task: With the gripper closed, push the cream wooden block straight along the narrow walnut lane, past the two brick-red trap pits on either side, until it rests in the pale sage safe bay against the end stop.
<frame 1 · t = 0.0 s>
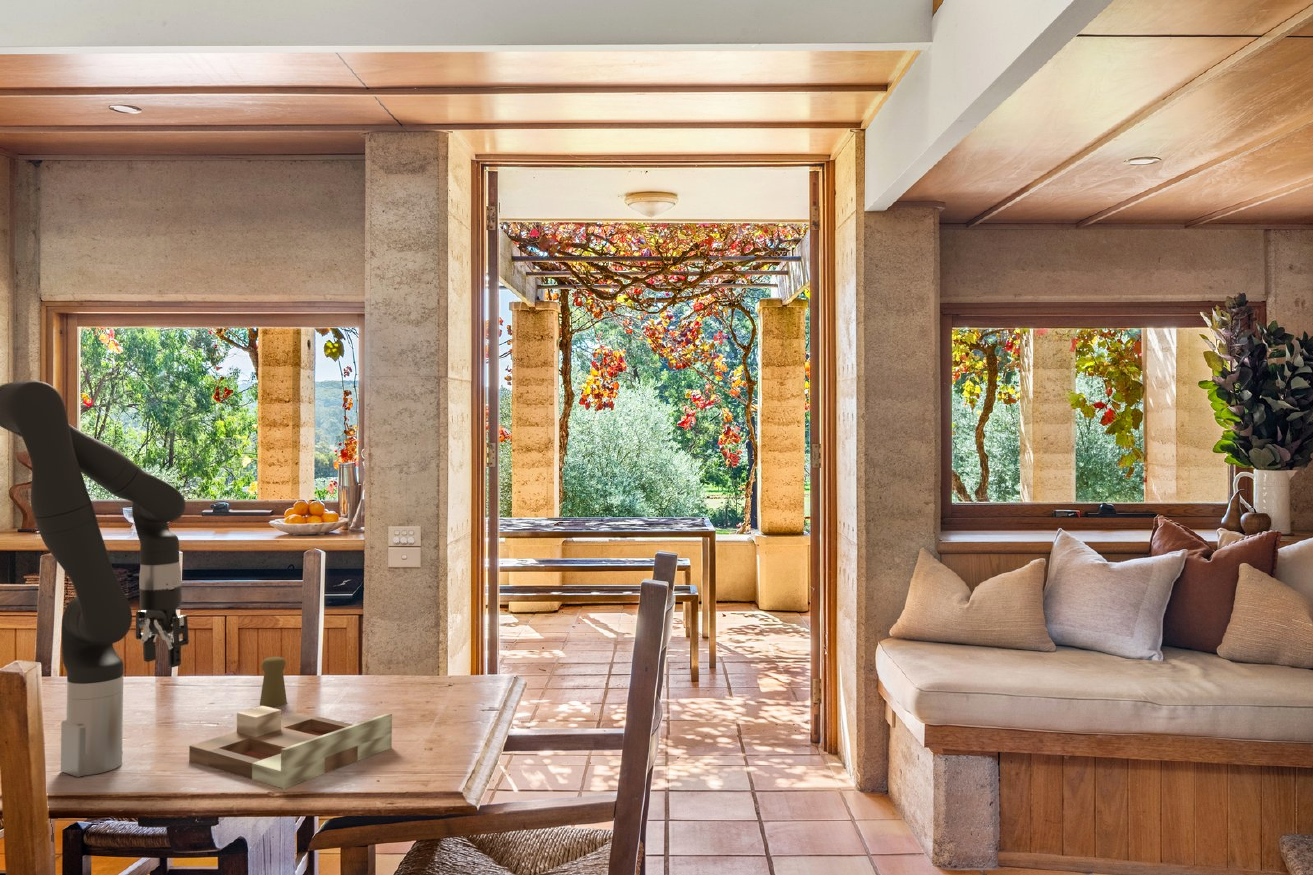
hand: (162, 663, 186), 17 cm above the table, tool pointing down, fingers open, 8 cm apart
block: (258, 730, 188), point 3 cm above the table, touching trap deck
cork: (273, 704, 218), on the table
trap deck: (292, 754, 182), on the table
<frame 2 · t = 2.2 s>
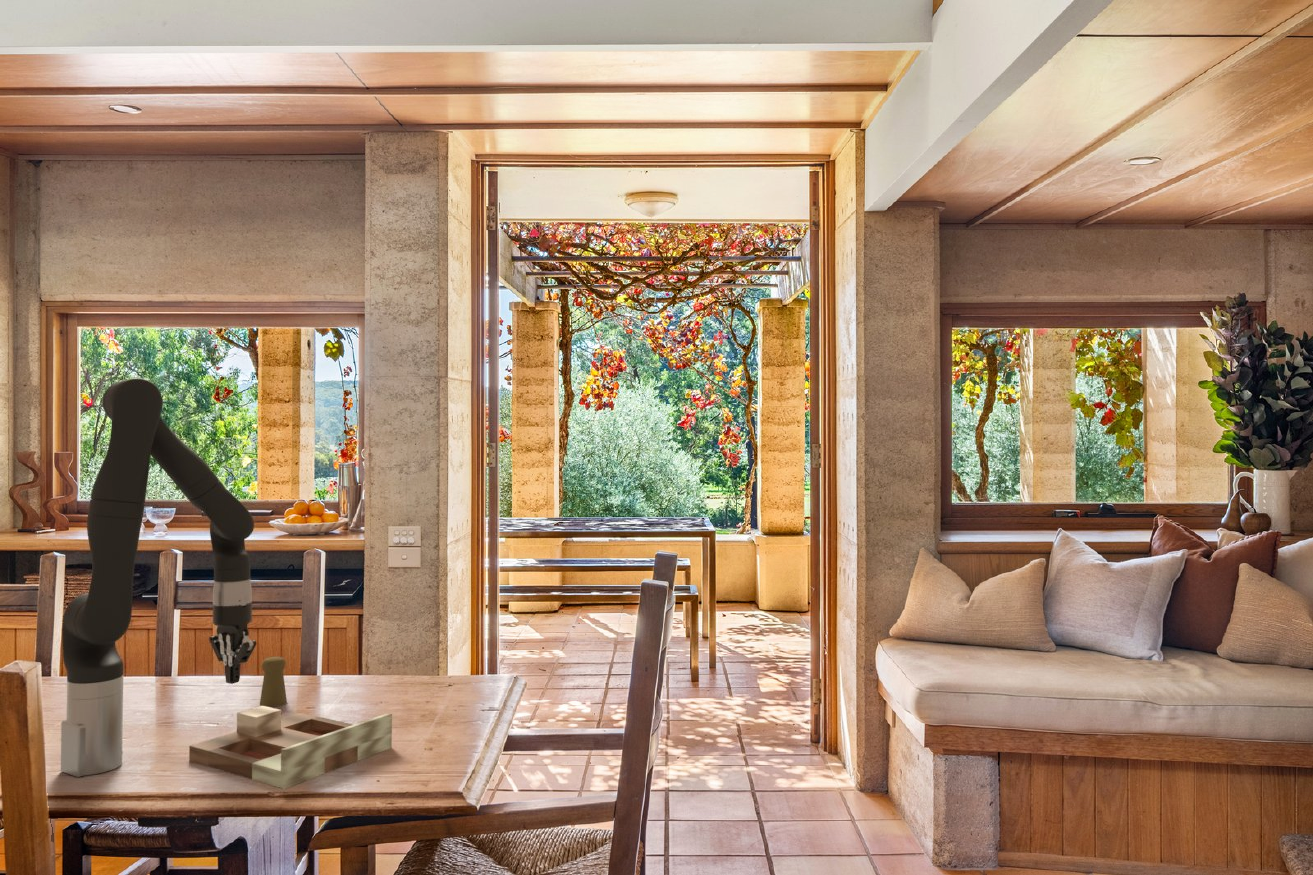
hand: (232, 682, 192), 12 cm above the table, tool pointing down, fingers closed
nothing on the table moved.
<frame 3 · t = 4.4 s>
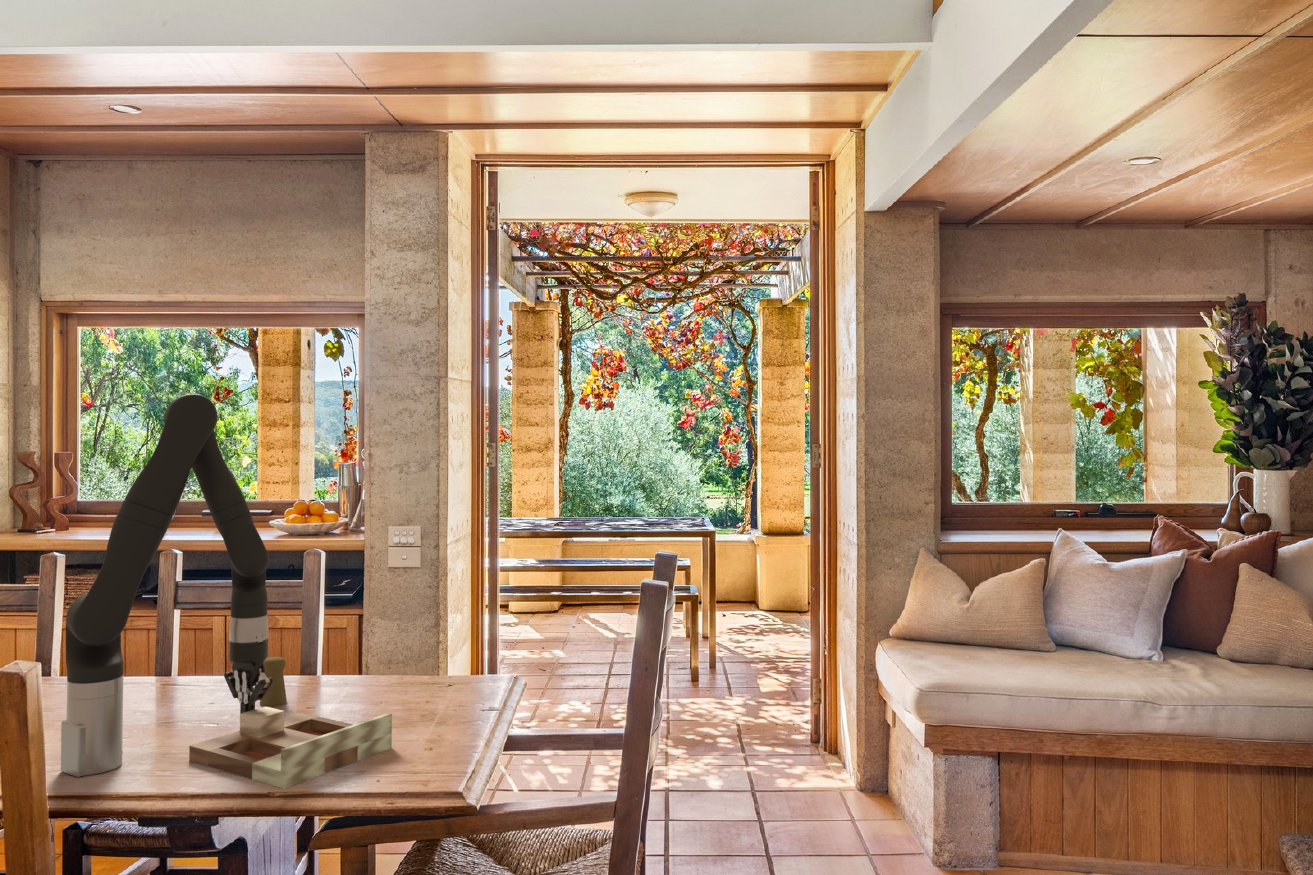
hand: (247, 720, 190), 5 cm above the table, tool pointing down, fingers closed
block: (262, 731, 187), point 3 cm above the table, touching gripper
everything else where it was.
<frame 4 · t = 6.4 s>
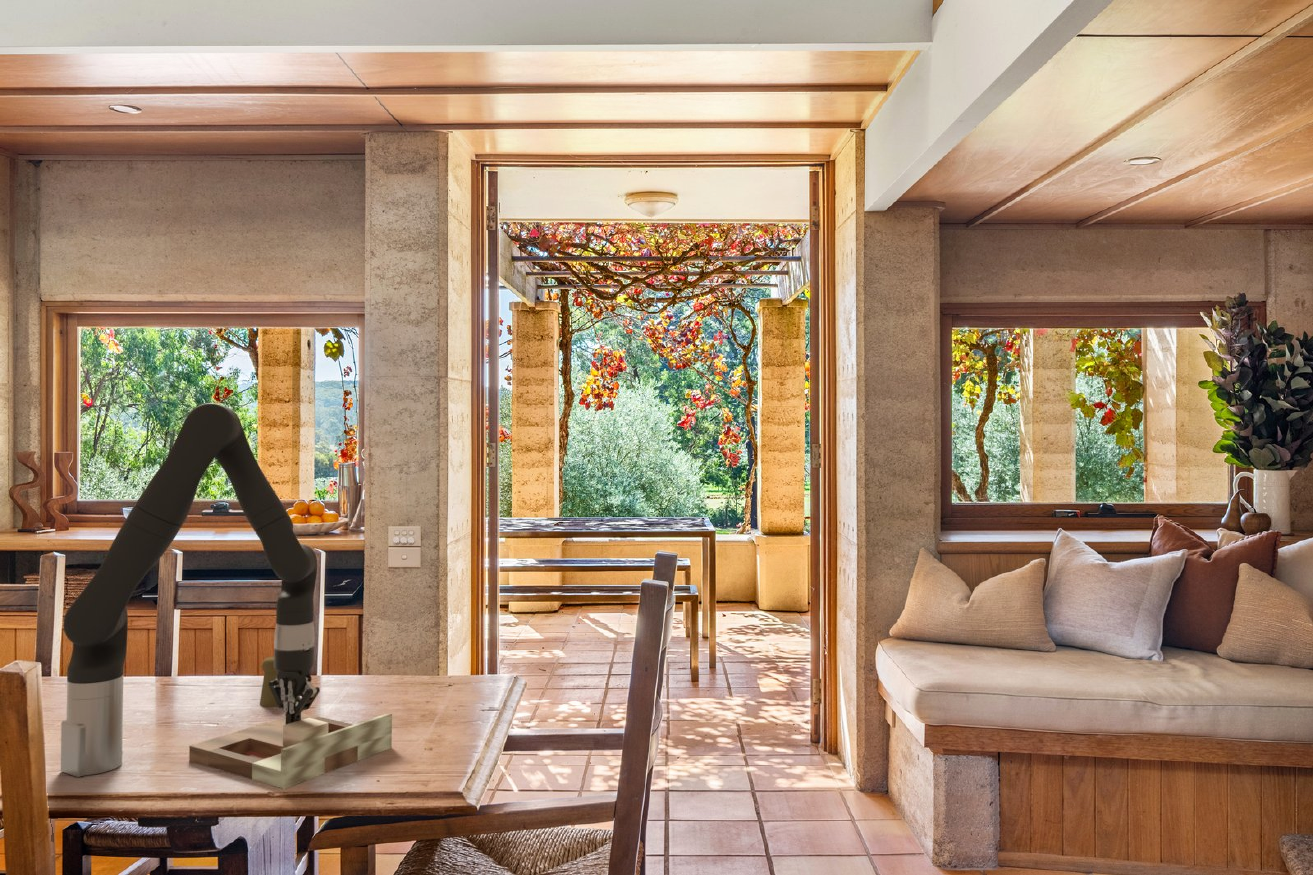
hand: (293, 730, 183), 5 cm above the table, tool pointing down, fingers closed
block: (305, 744, 179), point 3 cm above the table, touching gripper
everything else where it was.
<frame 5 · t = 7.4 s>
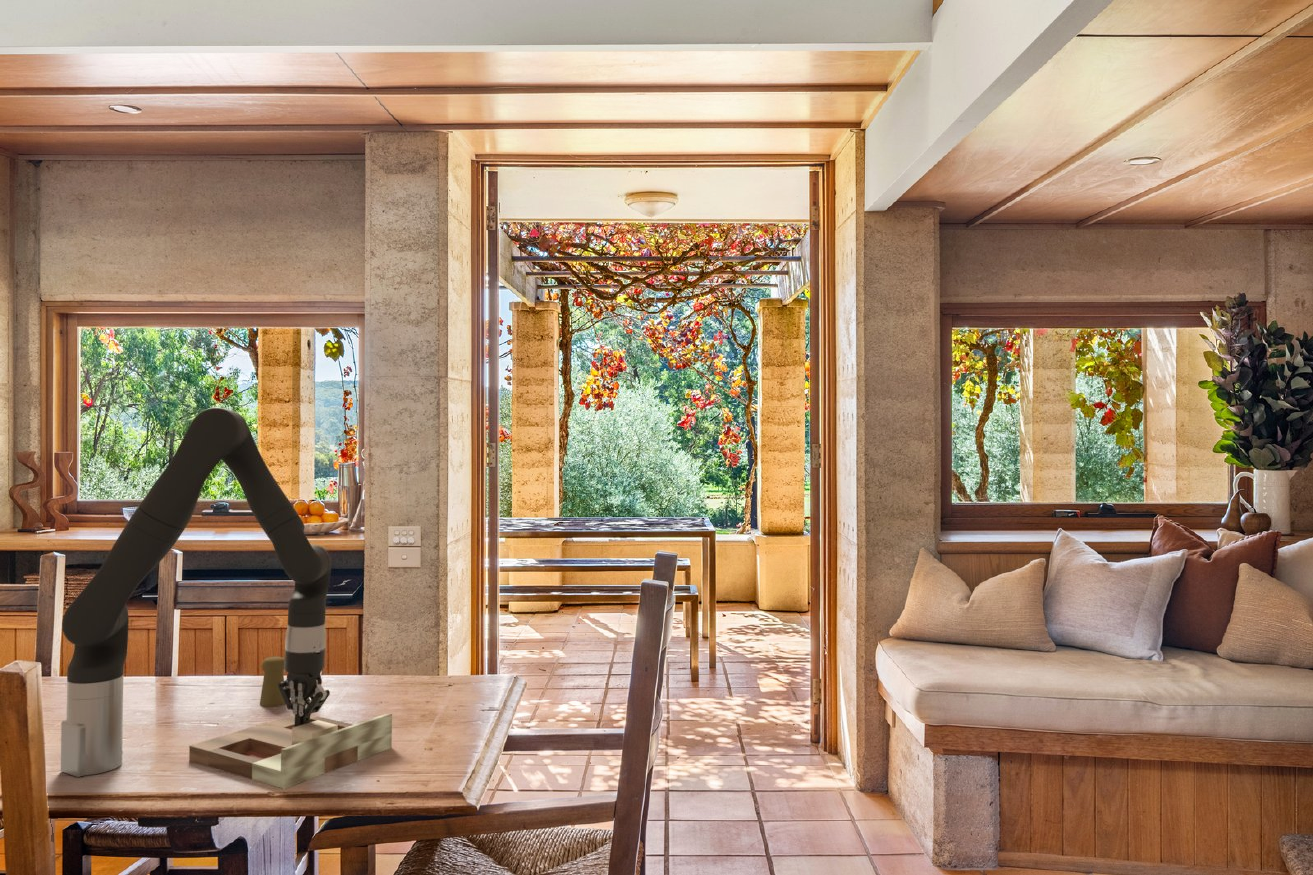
hand: (301, 732, 181), 5 cm above the table, tool pointing down, fingers closed
block: (314, 746, 178), point 3 cm above the table, touching gripper, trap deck
everything else where it was.
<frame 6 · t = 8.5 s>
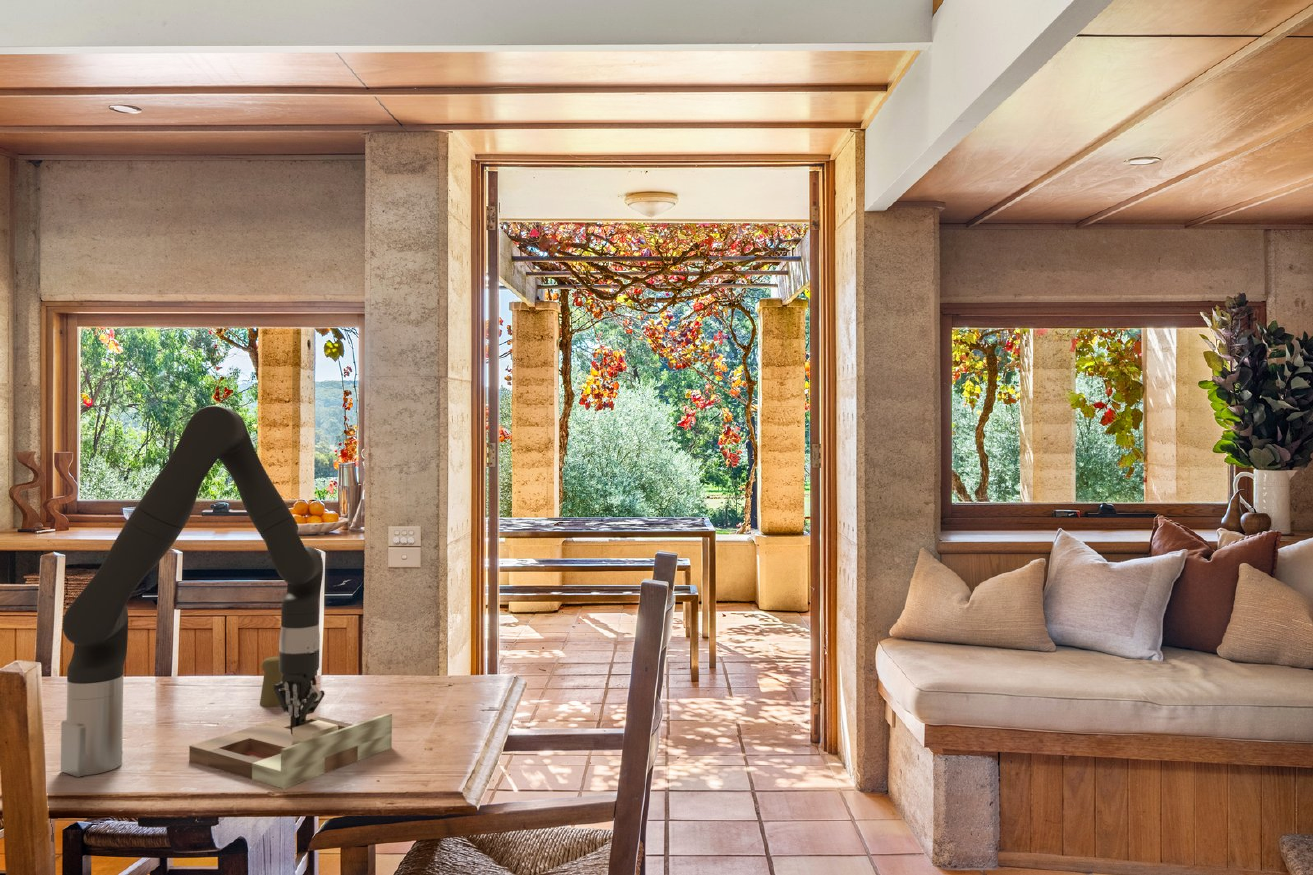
hand: (298, 734, 181), 4 cm above the table, tool pointing down, fingers closed
block: (315, 747, 178), point 3 cm above the table, touching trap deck
everything else where it was.
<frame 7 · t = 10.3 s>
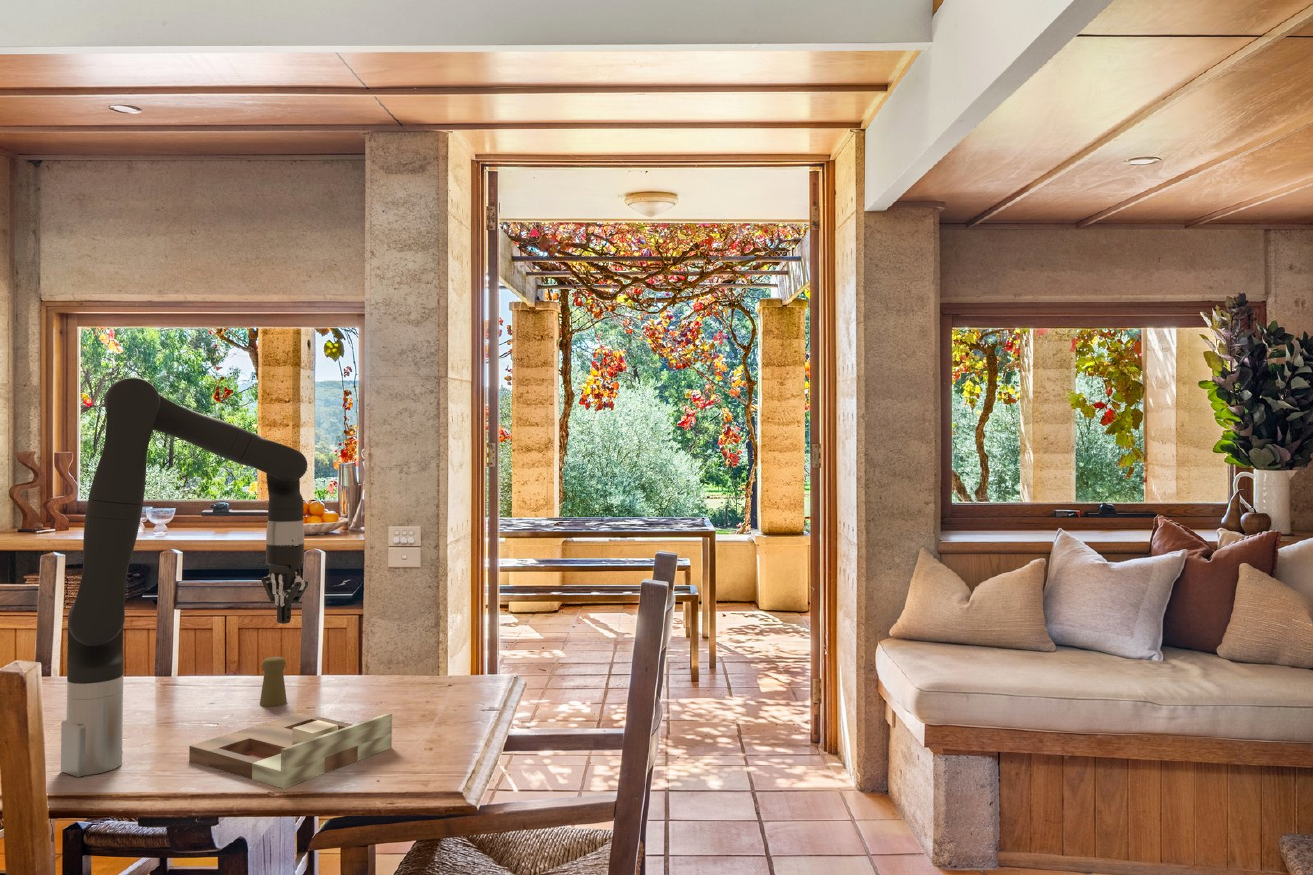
hand: (283, 623, 193), 24 cm above the table, tool pointing down, fingers closed
nothing on the table moved.
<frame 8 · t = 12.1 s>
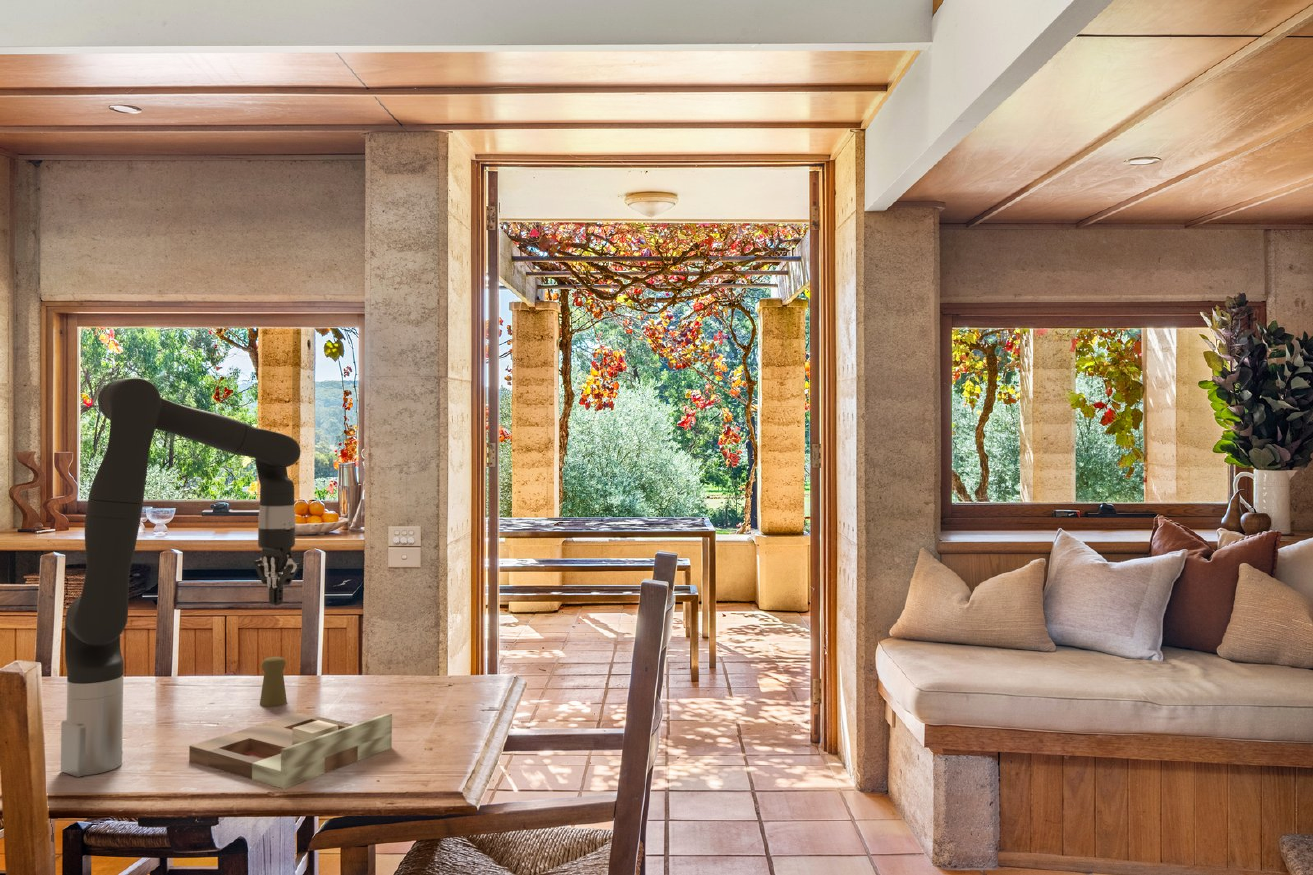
hand: (275, 604, 200), 27 cm above the table, tool pointing down, fingers closed
nothing on the table moved.
at the end: block 2.6 cm from the target spot on the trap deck, point 3.0 cm above the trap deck's base; block tilted 0° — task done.
